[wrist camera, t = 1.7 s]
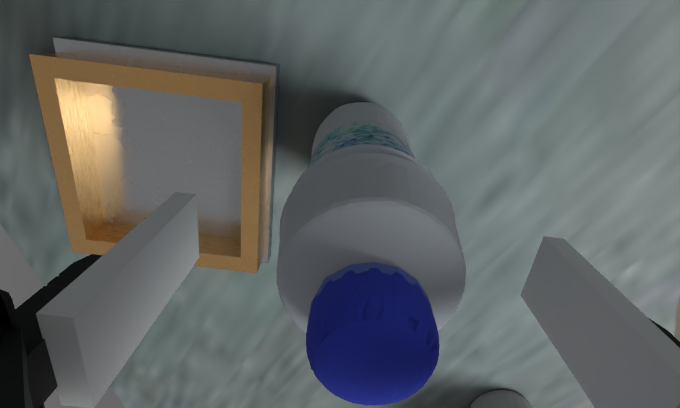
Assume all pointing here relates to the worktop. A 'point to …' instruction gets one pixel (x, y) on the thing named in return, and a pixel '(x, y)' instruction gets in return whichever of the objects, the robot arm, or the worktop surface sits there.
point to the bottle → (369, 258)
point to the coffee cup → (501, 400)
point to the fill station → (161, 144)
